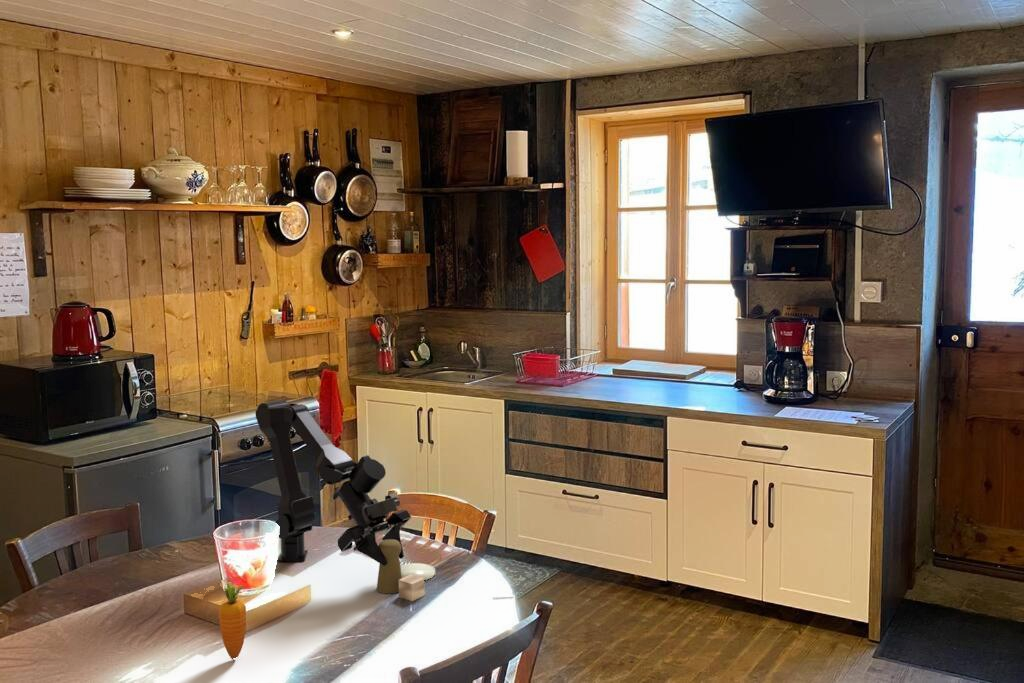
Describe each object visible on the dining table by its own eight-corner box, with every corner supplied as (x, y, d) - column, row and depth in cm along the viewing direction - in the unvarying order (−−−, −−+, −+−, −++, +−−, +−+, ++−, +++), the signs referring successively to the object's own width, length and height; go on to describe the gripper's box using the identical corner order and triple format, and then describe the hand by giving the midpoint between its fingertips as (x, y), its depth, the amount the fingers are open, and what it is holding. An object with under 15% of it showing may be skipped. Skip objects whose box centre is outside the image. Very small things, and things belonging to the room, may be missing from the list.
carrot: (223, 654, 171) (220, 578, 169) (250, 653, 171) (247, 577, 169) (217, 666, 166) (214, 589, 164) (245, 665, 166) (242, 588, 165)
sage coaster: (393, 567, 216) (393, 564, 216) (435, 565, 217) (435, 562, 217) (391, 583, 206) (391, 579, 206) (435, 581, 207) (435, 578, 207)
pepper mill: (406, 583, 205) (405, 536, 204) (400, 593, 199) (399, 546, 198) (380, 582, 206) (379, 535, 204) (373, 592, 200) (372, 545, 198)
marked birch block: (398, 597, 198) (398, 579, 198) (410, 591, 201) (410, 574, 201) (412, 601, 196) (412, 584, 195) (424, 595, 199) (424, 578, 198)
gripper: (345, 493, 195) (382, 554, 189) (405, 475, 209) (440, 530, 204) (321, 521, 200) (357, 581, 195) (381, 501, 215) (415, 556, 210)
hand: (394, 561), depth 201 cm, fingers closed on pepper mill, 5 cm apart
